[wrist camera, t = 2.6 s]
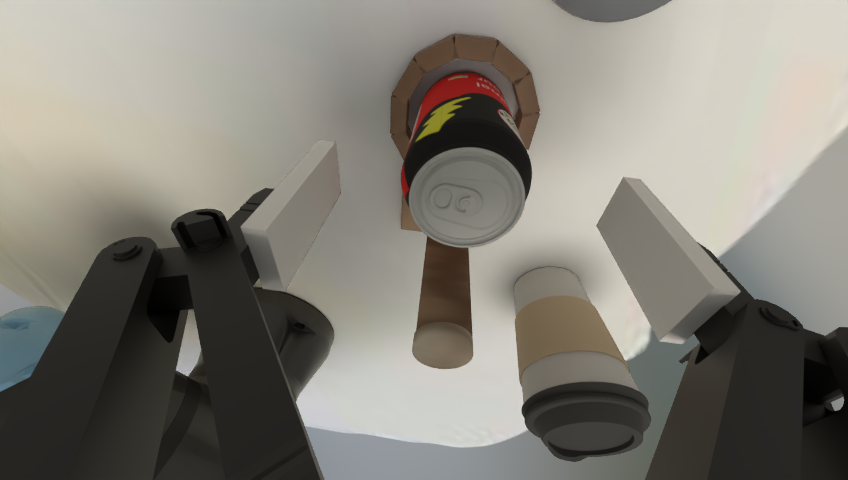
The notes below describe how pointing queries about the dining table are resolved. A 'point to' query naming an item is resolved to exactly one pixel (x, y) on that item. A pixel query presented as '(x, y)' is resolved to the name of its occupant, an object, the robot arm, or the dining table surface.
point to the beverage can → (465, 164)
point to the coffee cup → (573, 371)
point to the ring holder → (444, 265)
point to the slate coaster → (609, 8)
